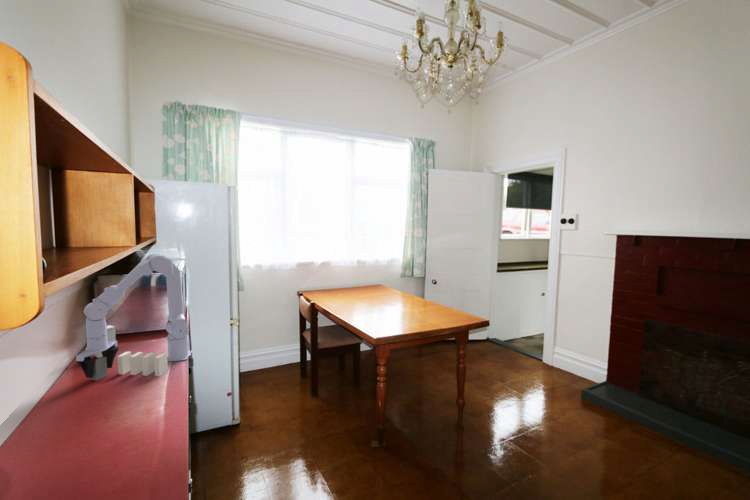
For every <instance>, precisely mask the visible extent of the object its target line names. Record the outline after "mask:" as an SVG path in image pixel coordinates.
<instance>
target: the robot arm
mask: <svg viewBox="0 0 750 500" xmlns="http://www.w3.org/2000/svg"><path fill="white" fill-rule="evenodd" d="M153 271H154V272H158V273H160V274H161V275H163V276H164V277H165V279H166V290H167V291H166V292H167V293H166V295H167V296H166V297H167V308H168V316H167V319H166V320H167V322H166V324H165V330H166V332H167V336H166V338H167V362H178V361H180V362H181V361H186V360H187V359H188V358H189V357H190V355H191V354H192V352H193V350H190V347H191V346H190V337H189V335H188V334H189V330H190V329H189V326H188V324H187V321H186V320H187V319H186V317H185V315H184V308H183V293H182V291H183V290H182V276H181V271H180V269H179V268H178V267H177V266H176V264H175V263H174V262H173V261H172V260H171V258H169V257H166V256H165V255H160V254H158V253H152V254H149V255H148V256H147V257H146V258H144V259H143V260H140V262H139V263H138V264H137V265H136V266H135V267H134V268H133V269H132V270H131V271H130V272H129V273H128V274H126V275H125V276H124V277H123V278H122V279H121V280H120V282H119V283H117V284H115V285H109V287H107V286H106V287H105V288H103V291H102V293H101V294H99V296H97V297H96V298H93V299H92V302H90V303H87V304H86V305H85V307H84V310H83V311H82V312H83V315H84V316H86V318H85V323H86V324H85V330H86V331H85V332H86V335H85V336H86V344H87V345H86V348H85V349H84V350H83V351H82V352H80V353H79V354H77V355H75V361H76V362H75V363H76V364H77V365H79V366H80V368H81V370H82V371H83V372H84V376H85V377H86V378H88V379H89V378H90V379H92V377H93V376H94V364H95V361H96V359H97V358H92V357H93V356H95V354H98V353H100V352H102V355H103V357H106V359H107V369H112V368H113V365H114V361H115V357H116V355H117V353H118V352H119V347H118V344H119V343H118V340H116V341H110V342H108V339H107V326H108V324H107V321H106V320H107V319H106V316H107V315H108V310H111V309H112V308H113V307H114V306H116V305H117V303H118V302H120V301H121V299H122V298H124V297H125V296H126V290H127V289H129V288H130V287H131V286H132V285H134V284H135V283H136V281H138V280H139V279H140V278H141V277H143V276H144V275H149V274H153V273H154V272H153ZM115 346H116V347H115Z"/></svg>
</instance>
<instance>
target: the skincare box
mask: <svg viewBox="0 0 750 500" xmlns="http://www.w3.org/2000/svg"><path fill="white" fill-rule="evenodd" d="M107 339H108V342H110V341H117V339H116V326H114V325H110V324H109V325H107ZM115 347H117V346H115ZM94 356H96V357H95V358H97V359H98V358H100V357H103V355H102V352H100V353H98V354H95V355H94Z"/></svg>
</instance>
